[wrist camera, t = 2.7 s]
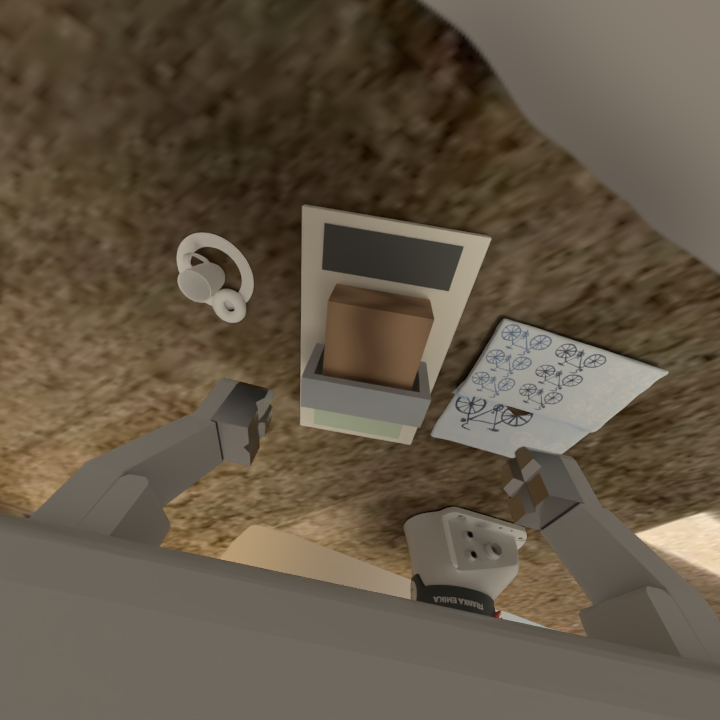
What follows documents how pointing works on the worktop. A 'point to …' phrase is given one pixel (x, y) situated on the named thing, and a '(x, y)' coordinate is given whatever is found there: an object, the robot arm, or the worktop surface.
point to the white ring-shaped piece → (213, 276)
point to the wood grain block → (375, 336)
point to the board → (383, 288)
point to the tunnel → (364, 395)
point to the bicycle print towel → (540, 392)
